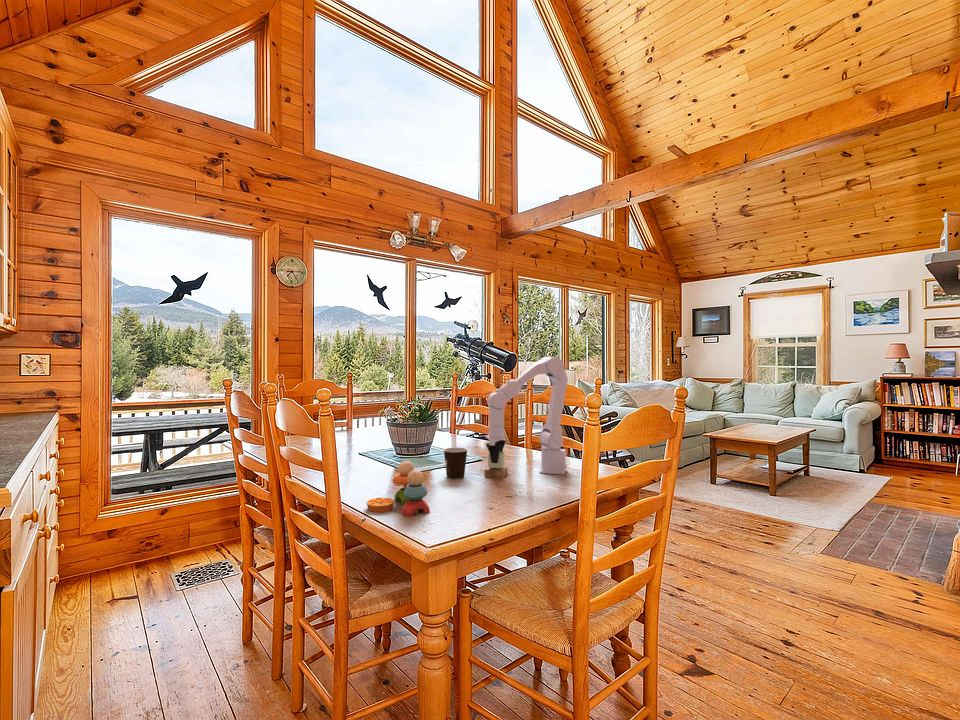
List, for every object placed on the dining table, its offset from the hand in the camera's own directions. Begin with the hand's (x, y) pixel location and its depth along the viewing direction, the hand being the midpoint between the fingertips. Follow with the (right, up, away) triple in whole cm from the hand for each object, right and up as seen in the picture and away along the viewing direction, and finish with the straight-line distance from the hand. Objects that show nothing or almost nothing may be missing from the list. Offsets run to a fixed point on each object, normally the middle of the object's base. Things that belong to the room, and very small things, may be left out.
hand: (496, 461), depth 181 cm
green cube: (0, -2, 0) cm, 2 cm away
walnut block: (0, -6, 0) cm, 6 cm away
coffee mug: (-15, -5, -1) cm, 16 cm away
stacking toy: (-29, -6, -38) cm, 49 cm away
